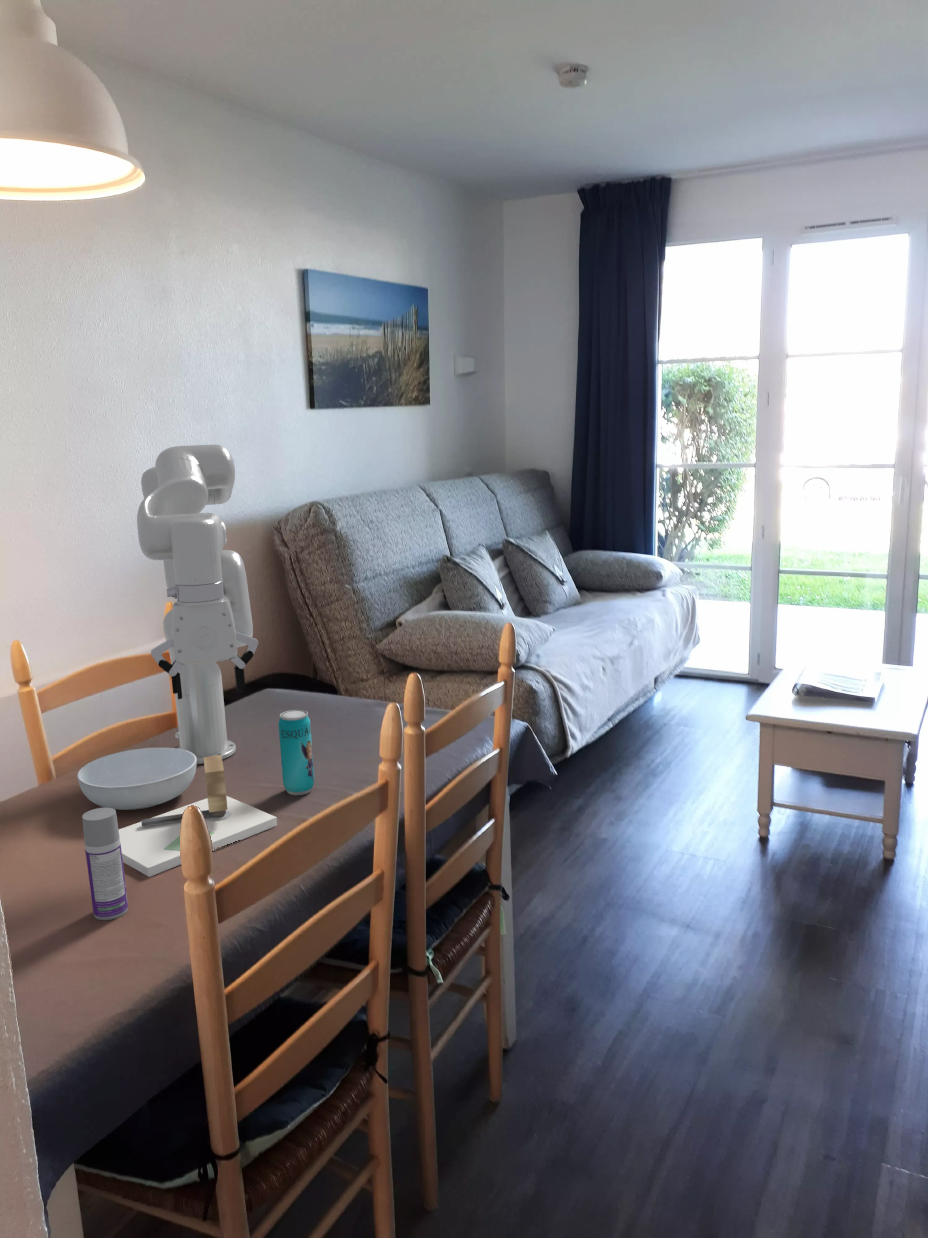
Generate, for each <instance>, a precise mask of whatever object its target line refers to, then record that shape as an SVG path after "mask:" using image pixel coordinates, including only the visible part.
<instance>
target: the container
mask: <svg viewBox="0 0 928 1238" xmlns="http://www.w3.org/2000/svg"><path fill="white" fill-rule="evenodd" d="M116 810H117V809H113V808H105V807H97V808H94V809H91V810H88V811H86V812H84V813H83V814H82V816H81V819H82V829H83V839H84V851H85V852H84V853H85V858H86V866H87V874H88V881H89V882H88V883H89V891H90V897H91V905H92V912H93V913H92V914H93V917H94V918H95V919H96V920H99V921H111V920H114V919H118V918H120V917H122V916H124V915H125V914H126V913H127V912H128V911H129V903H128V894H127V893H128V892H127V886H126V885H127V884H126V876H125V869H124V862H123V859H122V851H121V843H120V836H119V829H120V828H119V824H118V816H117V811H116Z"/></svg>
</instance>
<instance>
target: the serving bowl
mask: <svg viewBox="0 0 928 1238" xmlns="http://www.w3.org/2000/svg"><path fill="white" fill-rule="evenodd" d="M177 748H178V747H144V748H143V747H142V748H136V749H128V750H124V751H119V752H115V753H111V754H108V755H107V754H106V755H104V756H102V757H101V756H100V757H98V758H96V759H94V760H92V761H90V762H88V763H86V764H85V765H84V766H82V767H81V768H80V769H79V771H78V772H77V777H76V778H77V781H78V785H79V788H80V790H81V791H82V793H83V795H84V796H85V797H86V798H87V799H88V800H89V801H90V802H92V803H94V804H95V805H97V806H99V807H101V808H113V809H115V810H119V811H120V810H121V811H122V810H123V811H125V810H127V811H128V810H129V811H130V810H141V809H148V808H151V807H155V806H158V805H161V804H164V803H166V802H169V801H171V800H173V799H174V798H176V797H178V796H180V795H181V794H182V793H183V792H185V790H187V789H188V788H189V787H190V785H191V784H192V782H193V780H194V779H195V775H196V772H197V765H198V764H197V758H196V756H195V755H194V754H193V753H191V752H189V751H186V750H183V749H177Z"/></svg>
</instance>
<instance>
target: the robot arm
mask: <svg viewBox="0 0 928 1238" xmlns="http://www.w3.org/2000/svg"><path fill="white" fill-rule="evenodd" d="M234 461H235V460H234V458H233V457H232V454H231V453H230V451H229V450H228V448H226V447H225V446H223V445H221V444H195V445H177V446H176V445H175V446H171V447H168V448H165V449H164V450H162V451H161V452H160V453H159V454H158V456H157V458H156V460H155V466H153V467H150V468H148V469H146V470H145V471H144V472H143V473H142V475H141V479H140V484H141V492H142V495H143V499H142V501H141V502H140V503H139V506H138V509H137V513H136V515H137V516H136V525H137V526H136V527H137V537H138V543H139V547H140V550H141V552H142V553H143V555H144V556H145V557H146V558H147V559H149V560H152V561H163V569H164V578H165V583H166V596H167V598H174V599H175V600H176V602H174V603H173V604H172V609H171V610H169V611H168V612H167V613H166V614H165V615H164V617H163V621H162V627H163V628H162V629H163V634H164V637H165V641H163V642H161V643H160V644H159V645H157V646H156V647H153V648H152V649H151V651H150V656H152V658H153V660H154V661H155V662H156V663H157V665H158V667H159V668H161V669H162V670H163V671H164V672H166V673H167V674H168V675H169V676H171V677H170V679H171V686H172V687H171V689H172V694H174V697H175V699H174V700H175V707H176V708H175V709H176V716H177V726H178V731H177V732H175V734H174V736H175V737H174V738H176V739H178V740H179V746H177V747H176V748H177V749H183V750H186V751H189V752H191V753H193V754H194V755H195V756H196V758H197V765H199V764H203V765H204V757H209V756H216V755H221V756H222V760H224V759H227V758H230V757H231V756H232V755H234V753H235V752H236V750H237V749H236V743H234V742H233V741H231V740H230V739H229V740H228V735H227V734H228V733H227V724H226V713H225V711H226V710H225V702H224V691H223V689H224V688H223V677H222V672H221V669H220V666H219V665H218V662H226V661H231V662H232V663H233V664H234V668H233V669H234V678H235V689H236V692H238V693H242V692H243V691H242V687H244V686H246V680H245V668H246V666H247V664H248V663H249V662H250V661H251V660H252V659H253V657H254V654H255V652H256V650H257V647H258V645H259V640H258V639H257V638H255V637H253V635H254V626H253V625H254V624H253V617H252V610H251V603H250V595H249V587H248V579H247V573H246V572H247V571H246V568H245V563H244V561H243V559H242V556H241V555H240V554H239V553H238V552H236V551H234V550H230V549H224V546H226V545H227V541H228V539H227V538H228V537H227V530H226V524H225V522H224V521H222V519H221V518H220V516H218V515H217V514H215V513H213V512H202V511H203V510H204V509H205V507H206V506H211V505H214V506H215V505H222V504H225V503H227V502H228V501H229V500H230V499H231V497H232V494H233V489H234V486H235V485H234V484H235V480H236V468H235V463H234ZM247 645H248V646H247ZM245 646H247V648H246V650H245V652H244V653H243V654H242V655H241V656H240V655H239V653H238V648H240V647H245ZM166 651H168V654H169V658H170V662H169V661H167V660H166V659H165V658H164V656H163V653H165V652H166Z"/></svg>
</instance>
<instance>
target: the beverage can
mask: <svg viewBox="0 0 928 1238" xmlns="http://www.w3.org/2000/svg"><path fill="white" fill-rule="evenodd" d="M277 725H278V735H279V748H280V758H281V759H280V760H281V774H282V784H283V786H284V789H285V791H286V793H287V794H289V795H291V796H303V795H306V794H309V793H310V792H311V791H312V790H313V786H314V784H315V770H314V757H313V743H312V742H313V741H312V731H311V730H312V728H311V719H310V717H309V712H308V711H307V710H304V709H292V710H291V709H290V710H286V711H283V712H281V713H280V714H279V721H278V723H277Z"/></svg>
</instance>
